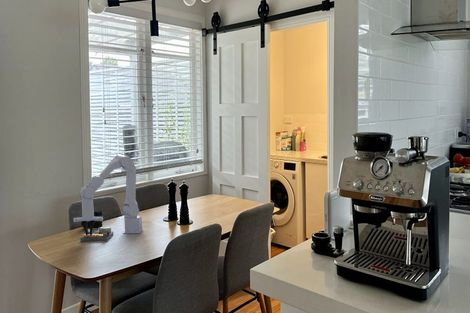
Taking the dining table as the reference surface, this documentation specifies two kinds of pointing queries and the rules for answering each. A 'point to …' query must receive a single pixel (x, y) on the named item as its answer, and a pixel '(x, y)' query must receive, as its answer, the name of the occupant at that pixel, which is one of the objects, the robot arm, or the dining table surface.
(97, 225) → the electronic device
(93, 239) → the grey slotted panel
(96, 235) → the strap
